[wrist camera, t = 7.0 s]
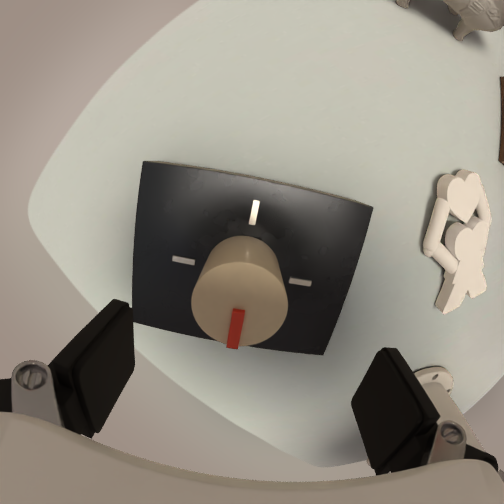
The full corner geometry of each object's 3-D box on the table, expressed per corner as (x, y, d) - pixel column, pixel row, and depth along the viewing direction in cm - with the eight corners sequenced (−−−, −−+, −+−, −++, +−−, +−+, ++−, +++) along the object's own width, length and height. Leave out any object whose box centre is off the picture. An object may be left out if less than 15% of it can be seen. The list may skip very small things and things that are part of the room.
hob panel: (356, 200, 18) (374, 207, 15) (315, 333, 21) (323, 356, 18) (159, 161, 17) (141, 160, 14) (145, 302, 21) (131, 322, 18)
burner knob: (211, 229, 16) (194, 256, 11) (286, 242, 16) (299, 273, 11) (202, 297, 17) (186, 341, 12) (270, 308, 17) (276, 355, 13)
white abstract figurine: (483, 163, 16) (499, 167, 14) (481, 276, 21) (493, 286, 19) (414, 183, 17) (430, 189, 15) (420, 308, 22) (431, 321, 20)
